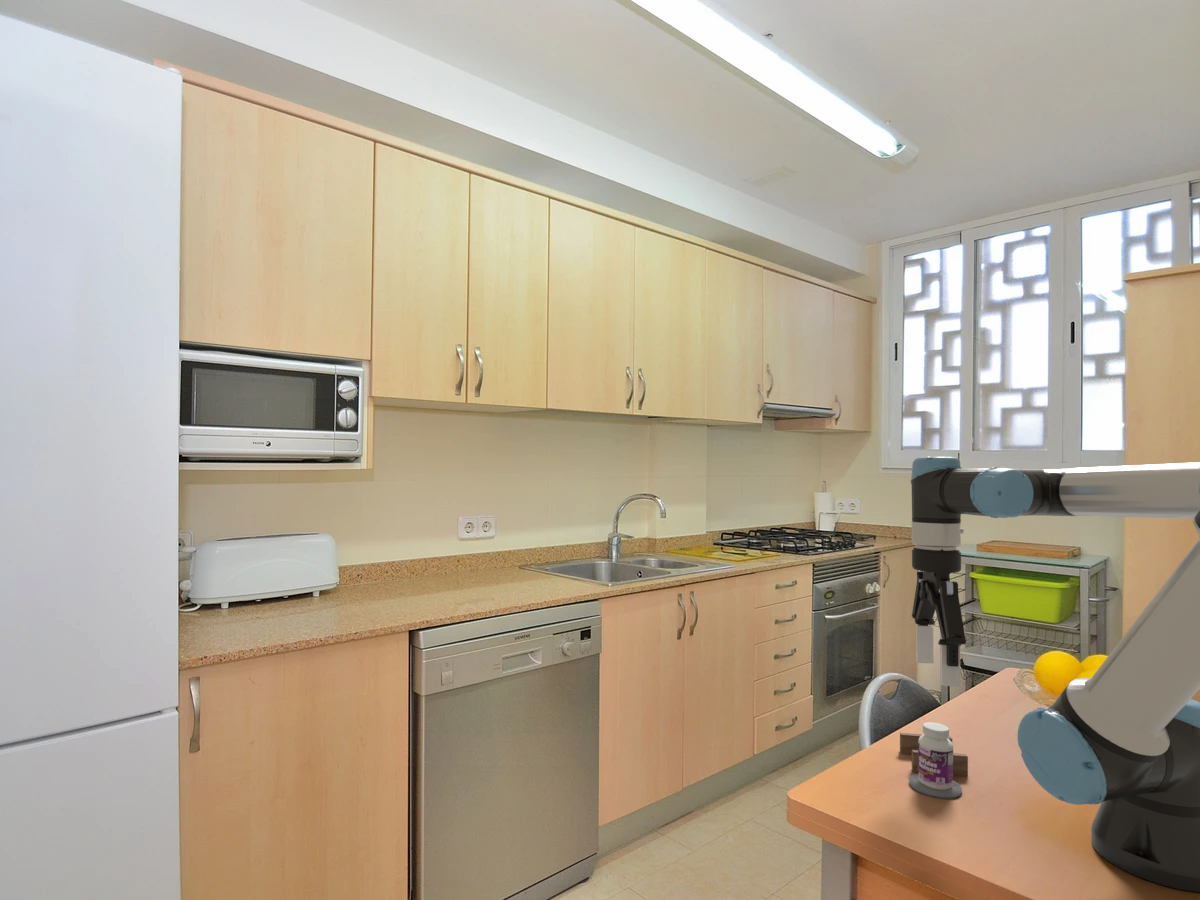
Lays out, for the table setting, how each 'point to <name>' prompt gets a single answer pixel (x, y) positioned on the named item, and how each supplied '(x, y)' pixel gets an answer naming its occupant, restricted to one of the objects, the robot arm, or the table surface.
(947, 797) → the coaster
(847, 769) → the table surface
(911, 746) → the rail cradle
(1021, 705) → the table surface
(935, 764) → the pill bottle
